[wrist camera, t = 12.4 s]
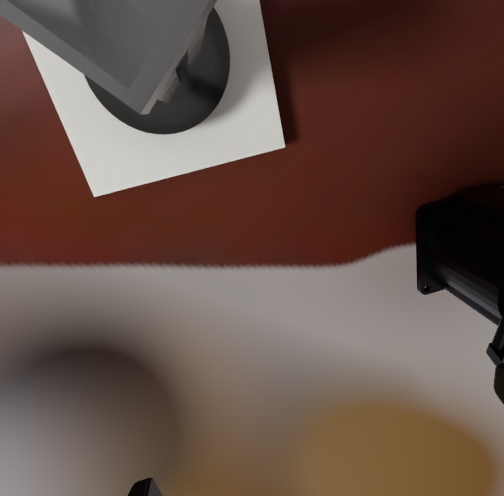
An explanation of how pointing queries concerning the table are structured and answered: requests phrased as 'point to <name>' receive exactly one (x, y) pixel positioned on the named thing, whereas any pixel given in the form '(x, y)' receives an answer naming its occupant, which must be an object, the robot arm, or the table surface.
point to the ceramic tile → (179, 144)
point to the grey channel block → (137, 54)
